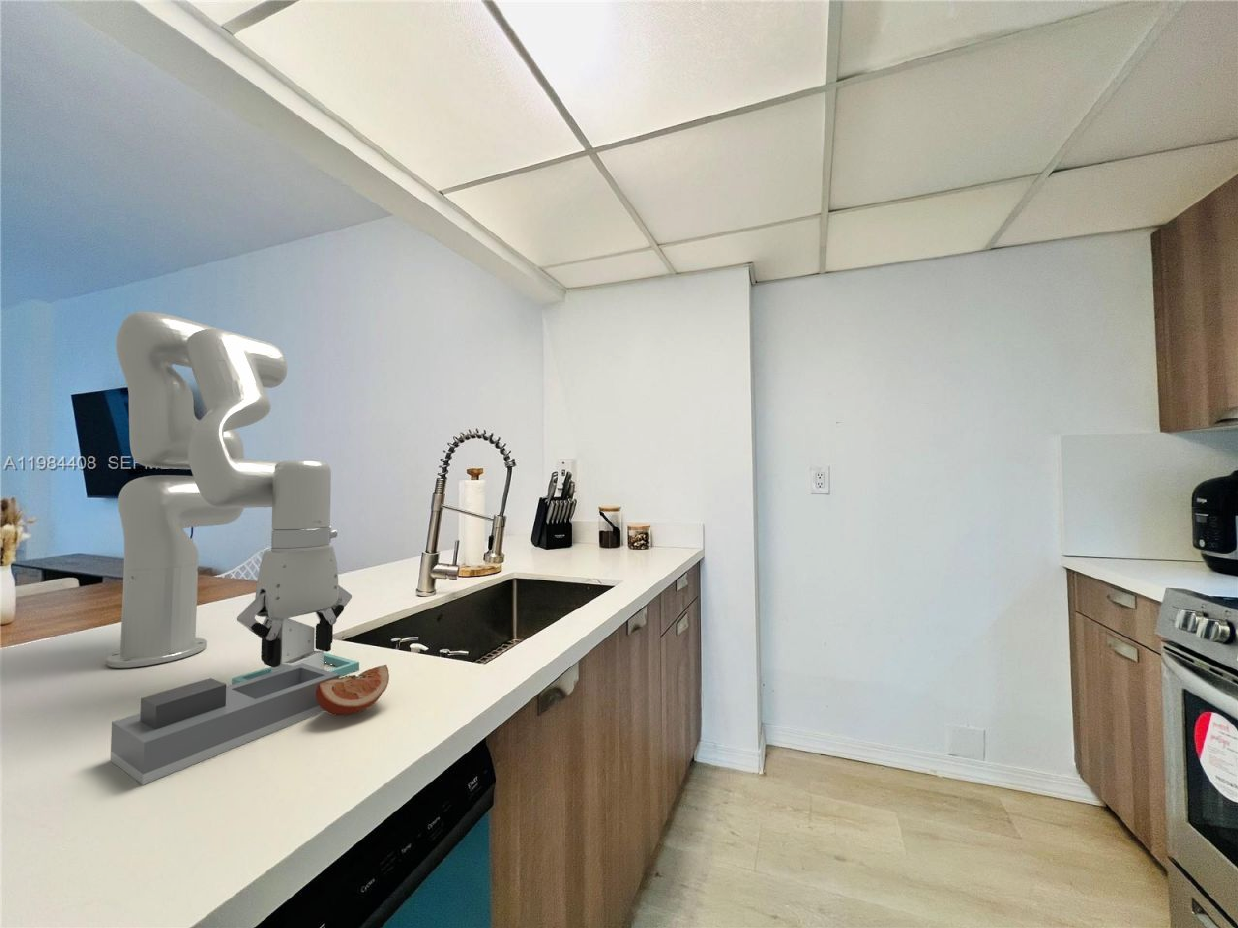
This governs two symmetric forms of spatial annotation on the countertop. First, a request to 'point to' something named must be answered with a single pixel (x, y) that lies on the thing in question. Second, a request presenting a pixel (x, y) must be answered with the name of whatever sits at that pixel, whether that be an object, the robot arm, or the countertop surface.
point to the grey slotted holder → (211, 719)
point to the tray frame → (343, 664)
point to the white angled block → (298, 646)
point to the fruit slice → (352, 691)
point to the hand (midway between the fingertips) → (298, 656)
